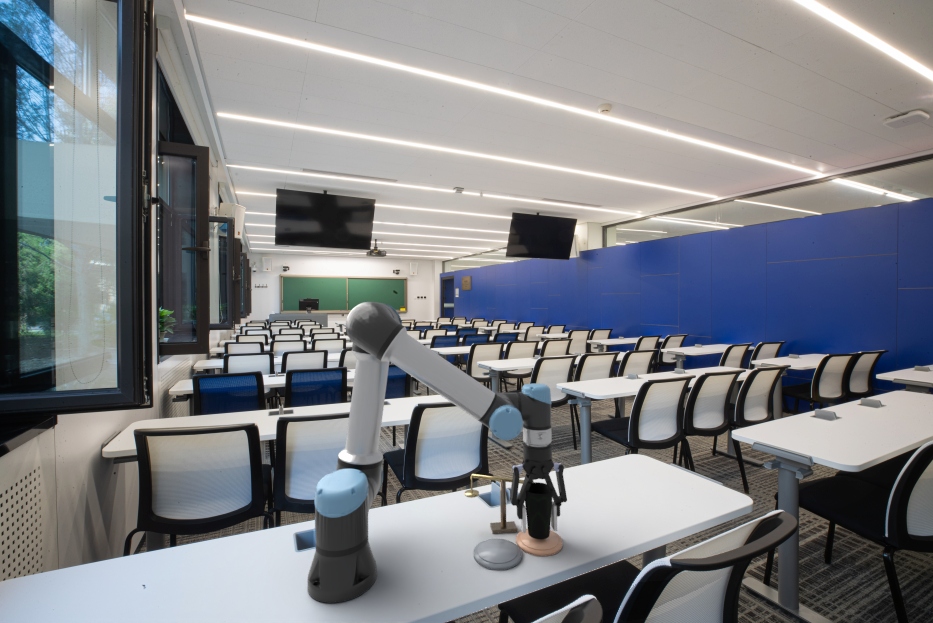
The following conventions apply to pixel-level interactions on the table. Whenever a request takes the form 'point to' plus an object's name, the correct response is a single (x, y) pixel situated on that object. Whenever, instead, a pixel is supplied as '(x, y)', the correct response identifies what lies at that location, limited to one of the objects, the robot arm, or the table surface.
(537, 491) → the cup
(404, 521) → the table surface
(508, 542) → the dish near
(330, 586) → the robot arm
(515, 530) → the balance
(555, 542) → the dish far
